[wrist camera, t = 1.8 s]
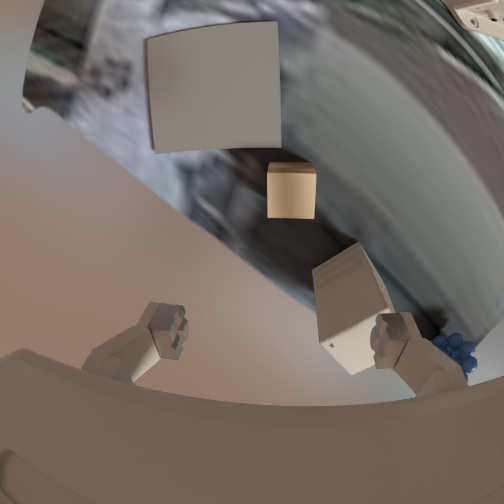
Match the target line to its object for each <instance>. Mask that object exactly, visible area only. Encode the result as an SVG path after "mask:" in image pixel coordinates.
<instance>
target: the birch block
mask: <svg viewBox="0 0 504 504" xmlns="http://www.w3.org/2000/svg"><path fill="white" fill-rule="evenodd" d="M315 192H316V172H315V170H314V167H313V165H312V163H304V162H270V163H269V167H268V171H267V198H268V218H303V219H314V210H315Z"/></svg>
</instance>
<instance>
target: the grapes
mask: <svg viewBox="0 0 504 504" xmlns="http://www.w3.org/2000/svg"><path fill="white" fill-rule="evenodd" d="M432 344H433V345H435V346H436V347H437V348H438V349H440V350H441V351H442V352H443V353H445V354H446V355H447V356H449V357H450V358H451V359H452V360H454V361H455V362H456V363H457V364H459V365H460V366H461V369H462V371H463V373H464V376H465V378H466V381H467V382H468V375H467V374H466V373H471V372H473V371H475V369H476V368H477V366H478V364H477V360H476V359H475V357H472V355H473V353H474V352H475V344H474V343H473V342H471V341H464V342H463V336H462V335H461V334H459V333H453V334H451V335H450V336H449V337H448V339H447V338H446V337H445V336H442V335H438V336H436V337H435V338H434V339H433V341H432ZM465 372H466V373H465Z"/></svg>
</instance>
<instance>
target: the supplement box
mask: <svg viewBox="0 0 504 504" xmlns="http://www.w3.org/2000/svg"><path fill="white" fill-rule="evenodd" d="M312 277H313V285H314V293H315V303H316V312H317V321H318V333H319V343H320V344H321V345H322V346H323V347H324V348H325V349H326V350H327V351H328V352H329V353H330V354H331V355H332V356H333V357H334V358H335V359H336V360H337V361H338V362H339V363H340V364H341V365H342V366H343V367H344V368H345V369H346V370H347V372H348V373H350V374H351V375H352V374H355V373H357V372H359V371H361V370H364V369H366V368H368V367H370V366H372V365H374V364H375V362H374V358H373V356H374V354H375V352H374V351H373V350H372V349H371V345H370V334H371V331H372V328H373V327H374V326H375V325H376V322H375V319H376V316H377V315H378V314H380V313H395V310H394V308H393V305H392V303H391V300H390V298H389V295H388V293H387V290H386V288H385V285H384V283H383V281H382V279H381V278H380V276H379V274H378V272H377V271H376V269H375V267H374V266H373V264H372V262H371V261H370V259H369V257H368V256H367V254H366V253H365V251H364V249H363V248H362V246H361V245H360V243H359V242H357V243H355V244H353V245H352V246H350V247H348V248H347V249H345V250H344V251H342V252H340V253H339V254H337V255H335V256H334V257H332V258H330V259H329V260H327V261H325V262H324V263H322V264H320V265H319V266H317V267H315V268H314V269H312Z"/></svg>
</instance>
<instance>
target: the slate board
mask: <svg viewBox="0 0 504 504" xmlns="http://www.w3.org/2000/svg"><path fill="white" fill-rule="evenodd" d="M147 50H148V77H149V94H150V107H151V119H152V130H153V139H154V148H155V154H159V153H169V152H180V151H192V150H207V149H227V148H281V98H280V65H279V41H278V22H250V23H236V24H226V25H217V26H210V27H203V28H197V29H191V30H186V31H180V32H176V33H171V34H166V35H162V36H158V37H154V38H150V39H147Z"/></svg>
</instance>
